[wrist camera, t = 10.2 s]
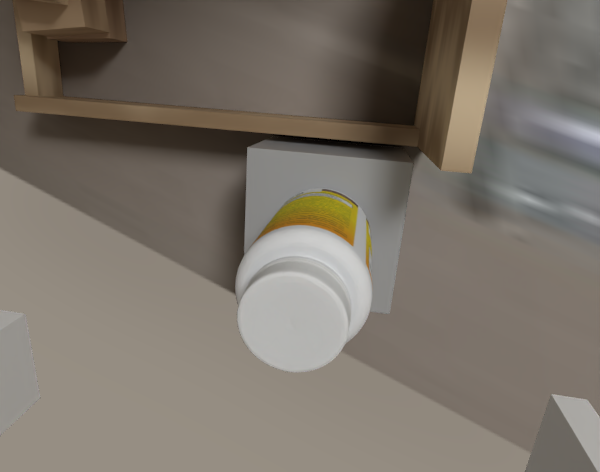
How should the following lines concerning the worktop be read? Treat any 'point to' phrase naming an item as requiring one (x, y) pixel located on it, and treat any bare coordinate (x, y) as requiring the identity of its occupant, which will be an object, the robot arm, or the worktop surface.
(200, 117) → the light wood open box
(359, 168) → the stone plinth
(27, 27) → the offcut slab top
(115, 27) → the offcut slab low
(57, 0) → the offcut block
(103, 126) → the worktop surface
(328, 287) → the supplement bottle
